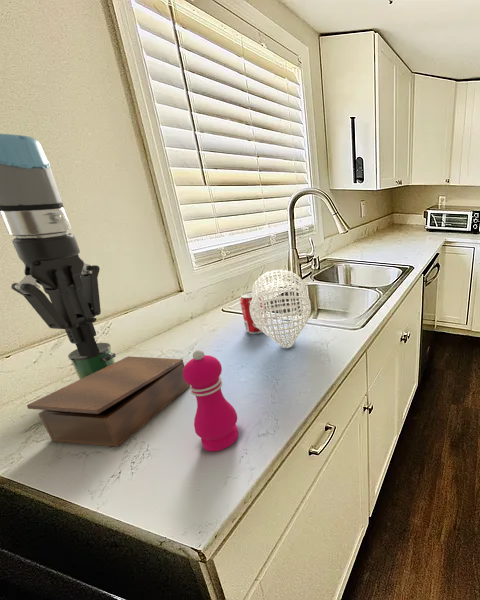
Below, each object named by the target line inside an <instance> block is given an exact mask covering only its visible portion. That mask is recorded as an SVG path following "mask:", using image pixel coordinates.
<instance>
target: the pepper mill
mask: <svg viewBox="0 0 480 600" xmlns="http://www.w3.org/2000/svg"><path fill="white" fill-rule="evenodd" d="M222 368H223V367H222V364H221V362H220V360H219V359H218V358H217V357H215V356H213V355H209V354H206V355H205V352H204V351H203V350H201V349H197V350H194V351H193V353H192V358H191V359H190V360H188V362H186V364H184V369H183V378H184V380H185V382H186V383H188V384H189V385H190V387H189V389H190V391H191V392H190V393H191V394H192V395H193V396H194V397H195V398H196V404H197V407H196V412H195V416H194V422H193V426H194V432H195V434H196V435H197V437H199V438H200V442H201V445H202V447H203V449H204V450H205V451H207V452H219V451H222V450H225V449H227V448H228V447H230V446H231V445H233V444H234V443H235V442H236V440H237V439H238V437H239V430H238V426H237V422H238V414H237V411H236V409H235V408H234V406H233V405H232V404H231V403H230V402H229V401H228V400H227V399H226V398H225V396H224V394H223V392H222V386H223V381H222V377H221V374H222V371H223V369H222Z"/></svg>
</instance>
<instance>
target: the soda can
mask: <svg viewBox="0 0 480 600" xmlns="http://www.w3.org/2000/svg"><path fill="white" fill-rule="evenodd" d="M258 296H259V295H258ZM252 298H253V297H252V291H246V292H244V293H241V295H240V300H239V303H240V307H241V313H242V317H243V321H244V327H245V331H246V332H247V333H248V334H250V335H260V334H262V333H263V332H262V331H261V330H260V329H259V328H257V326H256V325H255V324H254V322H253V320H252V318H251V315H250V302H251V300H252ZM263 299H264V300H265V298H264V296H263ZM259 300H260V301H261V298H259ZM260 304H262V303H260ZM264 305H266V303H265V302H264ZM257 307H258V306H257ZM260 307H261V308H262V306H261V305H260ZM257 309H258V308H257ZM265 309H266V307H265ZM260 310H261V309H260ZM253 311H254V310H253ZM260 312H261V311H260ZM265 312H266V314H267V311H265ZM261 313H262V312H261ZM262 314H263V313H262ZM254 316H255V315H254ZM261 316H262V315H261ZM264 316H265V315H264ZM262 317H263V316H262ZM266 317H267V315H266ZM256 321H257V320H256ZM260 322H261V321H260ZM264 322H265V321H264ZM265 323H266V322H265ZM263 324H264V323H263ZM266 328H267V327H266ZM267 329H268V328H267ZM263 334H264V333H263Z"/></svg>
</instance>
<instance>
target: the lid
mask: <svg viewBox="0 0 480 600" xmlns="http://www.w3.org/2000/svg"><path fill="white" fill-rule="evenodd" d="M115 362H116V363H113V364H111V365H109V366H107V367H105V368H103V369H101V370H99V371H97V372H95V373H93V374H91V375H88V376H86V377H84V378H82V379H80V380H79V379H78V380H76V381H73V382H72V383H70V384H68V385H65V386H63V387H62V388H61V387H60V388H59V389H57V390H55V391H52V392H51V393H49V394H46V395H45V396H43V397H40V398H38V399H36V400H35V401H32V402H30V403H28V404H27V405H26V408H27V409H29V410H38V411H39V410H41V411H43V410H52V411H65V412H78V413H92V414H99V413H101V412H102V411H104V410H106V409H107V408H109V407H110V406H112V405H114V404H115V403H117V402H119V401H120V400H122V399H124V398H125V397H127V396H129V395H130V394H132V393H133V392H135V391H137V390H138V389H140V388H142V387H143V386H145V385H147V384H148V383H150V382H152V381H153V380H155V379H157V378H158V377H160V376H161V375H163V374H165V373H166V372H168V371H170V370H171V369H173V368H175V367H176V366H178V365H180V364H181V363H183V362H184V359H183V358H166V357H149V356H147V357H145V356H125V357H124V358H122V359H120V360H117V361H115Z"/></svg>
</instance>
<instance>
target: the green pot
mask: <svg viewBox="0 0 480 600" xmlns="http://www.w3.org/2000/svg"><path fill="white" fill-rule="evenodd" d="M96 344H97V346H98V349H99V352H100V353H99V354H97V355H95V356H94V357H86V356H80V354H79V351H78V349H77V348H76V349H74V350H72V351H70V352H69V354H68V355H67V358H68V360H70V361H71V364H72V366H73V368H74V371H75V373H76V375H77V378H78V380H80V379H82V378H84V377H86V376H88V375H91V374H93V373H95V372H97V371H99V370H101V369H103V368H105V367H107V366H109V365H111V364H113V363H116V362H117V361H116V359H115V358H116V357H117V355H116V353H114V352H113V351H112V349H111V348H112V346H111V343H109V342H96Z"/></svg>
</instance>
